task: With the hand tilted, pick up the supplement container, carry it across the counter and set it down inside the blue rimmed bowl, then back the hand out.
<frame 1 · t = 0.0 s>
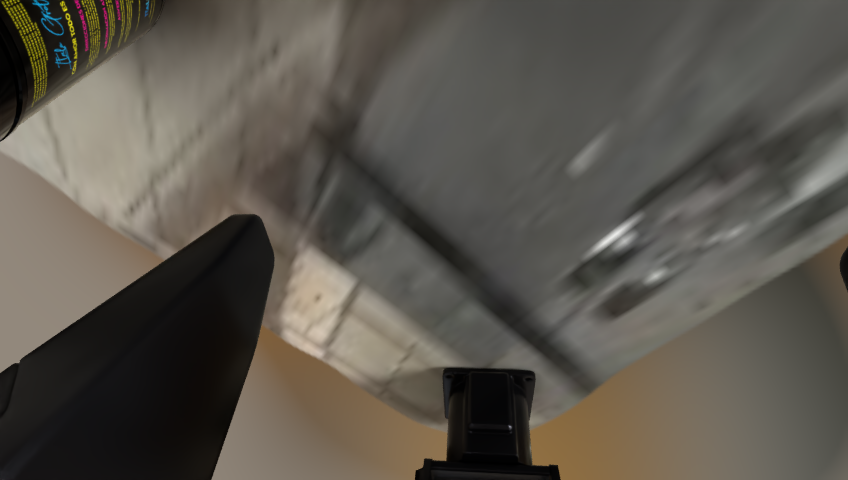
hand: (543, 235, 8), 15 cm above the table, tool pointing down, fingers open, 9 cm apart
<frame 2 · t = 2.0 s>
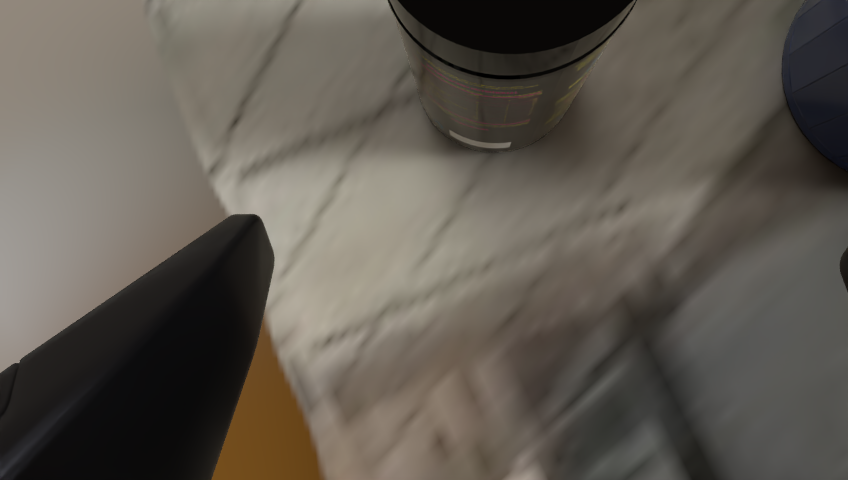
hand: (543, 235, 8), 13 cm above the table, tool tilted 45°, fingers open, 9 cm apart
supplement container: (494, 81, 22), on the table
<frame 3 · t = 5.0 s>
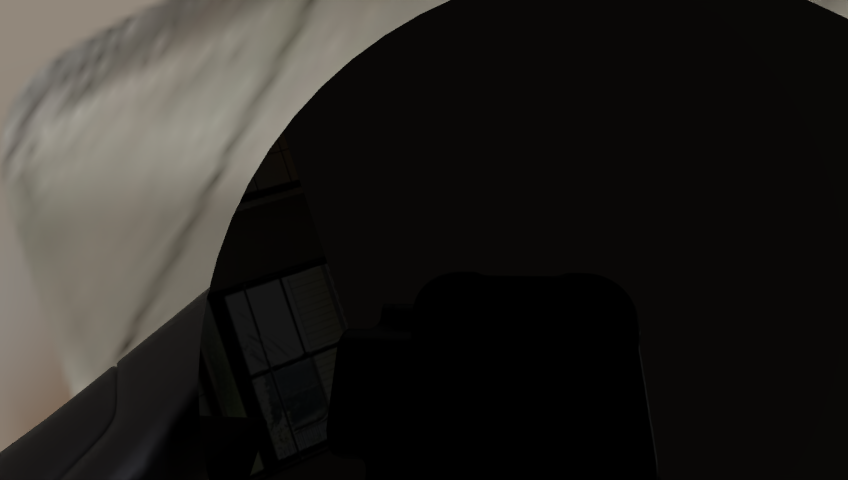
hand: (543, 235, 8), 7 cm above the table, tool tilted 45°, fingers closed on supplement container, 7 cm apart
supplement container: (509, 299, 14), on the table, touching gripper
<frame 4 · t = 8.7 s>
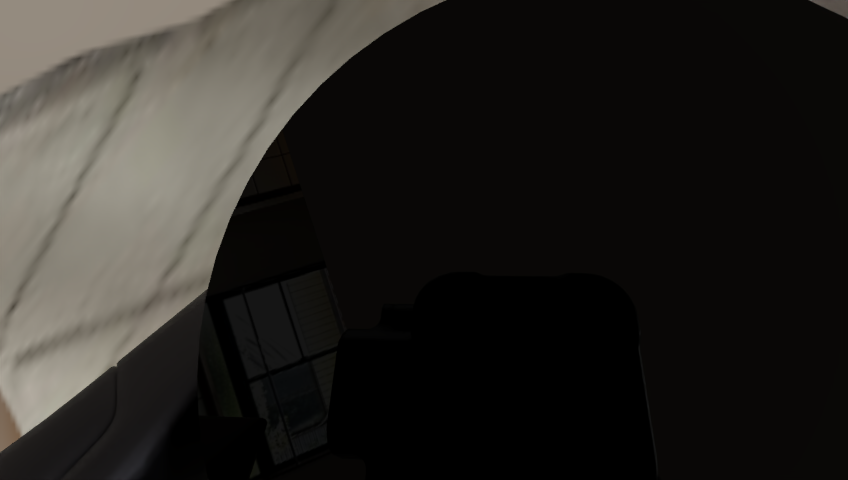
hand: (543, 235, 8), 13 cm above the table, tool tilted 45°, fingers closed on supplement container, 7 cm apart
coffee cup: (816, 26, 20), on the table
supplement container: (509, 298, 14), point 6 cm above the table, touching gripper
when the fingers open (7 cm above the table, at t = 12.4 s): supplement container stays where it is, resting on blue rimmed bowl.
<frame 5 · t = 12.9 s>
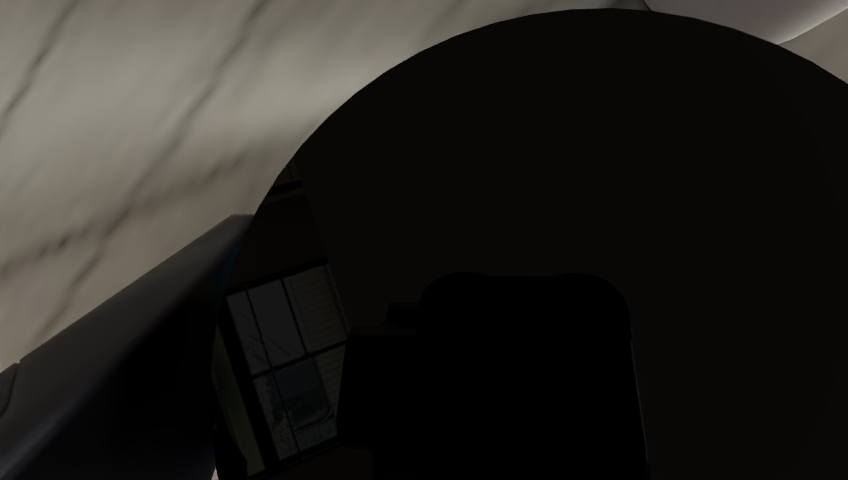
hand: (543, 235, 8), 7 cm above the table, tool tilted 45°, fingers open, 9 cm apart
supplement container: (507, 305, 15), resting on blue rimmed bowl
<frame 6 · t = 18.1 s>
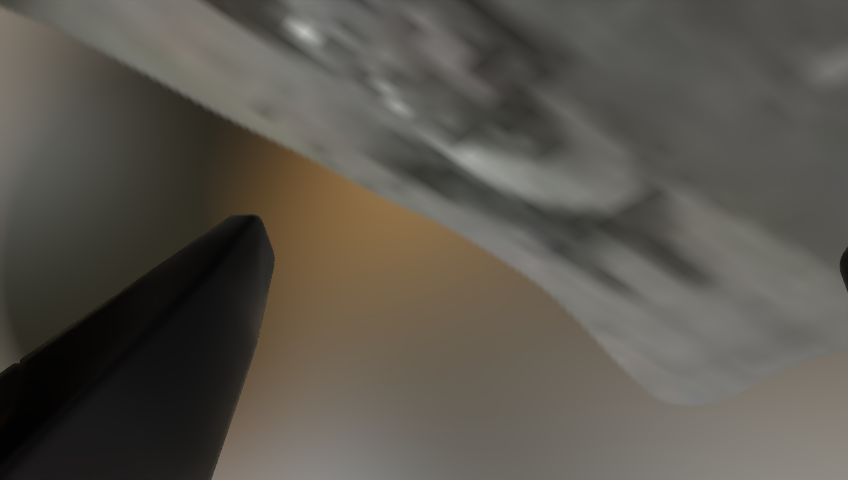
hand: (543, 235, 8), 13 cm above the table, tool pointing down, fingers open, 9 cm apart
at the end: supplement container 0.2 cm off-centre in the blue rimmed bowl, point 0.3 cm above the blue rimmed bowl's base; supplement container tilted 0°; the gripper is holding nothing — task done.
